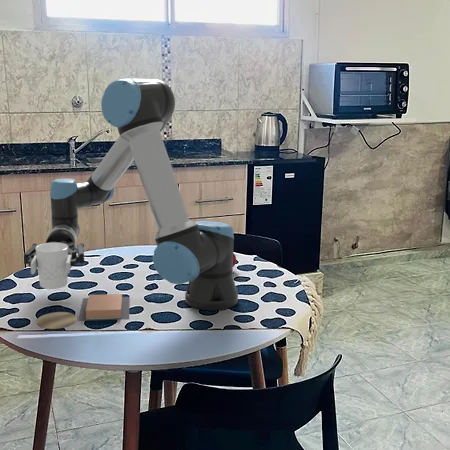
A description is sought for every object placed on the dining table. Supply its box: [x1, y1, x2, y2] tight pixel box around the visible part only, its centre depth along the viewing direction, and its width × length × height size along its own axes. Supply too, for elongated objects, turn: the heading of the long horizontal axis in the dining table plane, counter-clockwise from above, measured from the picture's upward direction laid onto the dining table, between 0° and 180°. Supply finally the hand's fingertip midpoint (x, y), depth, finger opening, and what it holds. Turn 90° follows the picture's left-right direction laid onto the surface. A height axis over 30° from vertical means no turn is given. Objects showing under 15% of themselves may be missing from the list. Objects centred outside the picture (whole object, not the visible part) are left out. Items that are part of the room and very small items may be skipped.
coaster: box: [36, 311, 78, 330], centre depth 152 cm, size 10×10×1 cm
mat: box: [77, 296, 131, 322], centre depth 160 cm, size 16×13×1 cm
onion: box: [233, 252, 237, 268], centre depth 194 cm, size 6×6×8 cm
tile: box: [86, 293, 123, 319], centre depth 158 cm, size 2×9×11 cm
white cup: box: [36, 242, 69, 290], centre depth 148 cm, size 8×8×10 cm
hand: (50, 268), depth 143 cm, fingers closed on white cup, 8 cm apart
